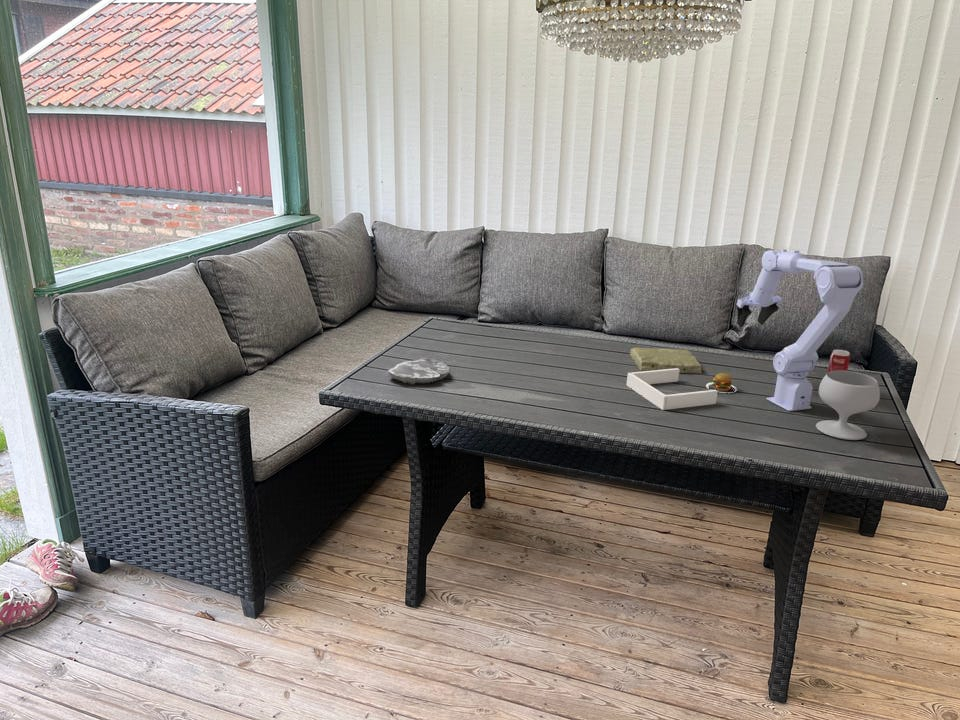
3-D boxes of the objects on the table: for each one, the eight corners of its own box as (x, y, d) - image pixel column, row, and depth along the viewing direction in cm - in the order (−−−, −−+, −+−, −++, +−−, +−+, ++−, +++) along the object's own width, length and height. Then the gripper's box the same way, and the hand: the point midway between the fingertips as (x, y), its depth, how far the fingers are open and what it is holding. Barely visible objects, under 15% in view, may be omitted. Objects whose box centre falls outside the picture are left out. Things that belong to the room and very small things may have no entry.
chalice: (824, 416, 191) (834, 365, 187) (878, 432, 182) (890, 379, 177) (802, 430, 182) (812, 376, 177) (859, 448, 173) (871, 391, 168)
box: (715, 403, 198) (717, 390, 197) (662, 410, 193) (664, 396, 192) (676, 380, 216) (677, 368, 215) (626, 385, 211) (627, 372, 210)
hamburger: (696, 392, 208) (698, 375, 207) (705, 381, 218) (708, 364, 216) (737, 401, 203) (740, 383, 201) (745, 388, 212) (748, 372, 211)
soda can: (826, 384, 216) (833, 347, 212) (844, 388, 213) (852, 351, 209) (822, 389, 212) (830, 352, 208) (841, 393, 209) (849, 355, 205)
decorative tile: (629, 355, 240) (630, 345, 239) (687, 357, 240) (688, 347, 239) (639, 373, 223) (640, 363, 222) (702, 375, 223) (703, 365, 221)
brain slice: (422, 392, 202) (422, 383, 201) (380, 379, 211) (380, 370, 210) (463, 375, 217) (464, 366, 216) (423, 363, 226) (423, 355, 225)
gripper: (777, 278, 211) (761, 314, 220) (737, 281, 207) (722, 318, 216) (791, 290, 206) (775, 327, 215) (751, 294, 202) (735, 331, 210)
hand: (749, 323), depth 215 cm, fingers open, 7 cm apart
